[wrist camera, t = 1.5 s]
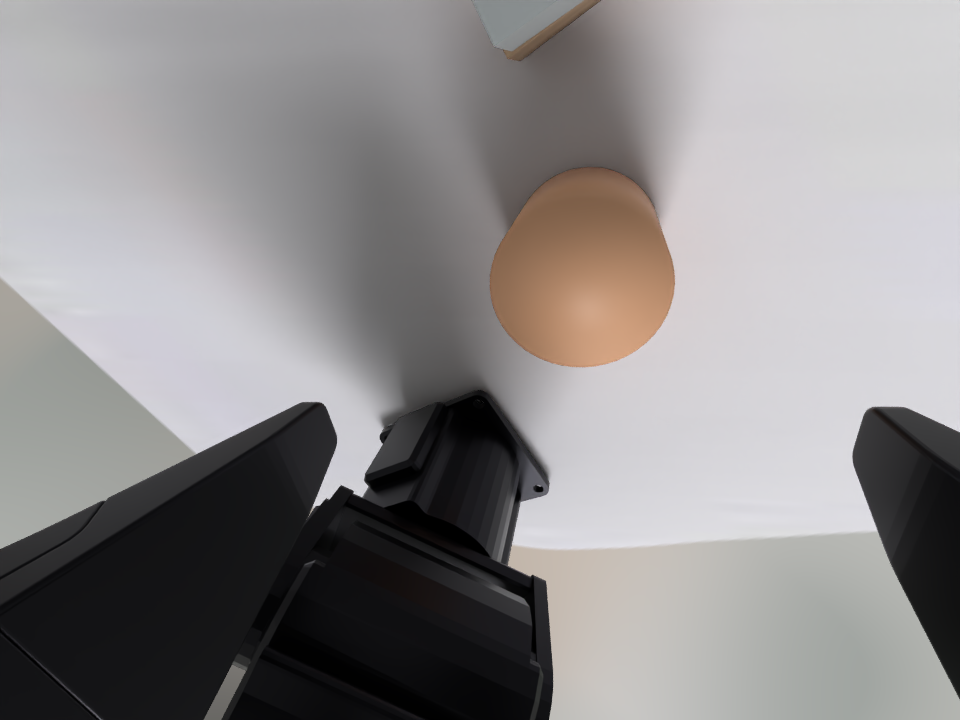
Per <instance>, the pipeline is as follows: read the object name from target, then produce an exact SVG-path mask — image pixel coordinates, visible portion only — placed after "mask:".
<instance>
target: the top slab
mask: <svg viewBox="0 0 960 720" xmlns="http://www.w3.org/2000/svg"><path fill="white" fill-rule="evenodd" d="M582 1H584V0H472V2H473V4H474V6H475V8H476V11H477V13H478V15H479V17H480V19H481V21H482V23H483V25H484V27H485V30H486V32H487V34H488V36H489V38H490V40H491V42H492V44H493V47H496V48H500V49H504V50H508V51H514V50H515V49H516V48H518V47H519V46H521V45H522V44H523V43H525V42H526V41H528V40H529V39H530V38H532V37H533V36H535V35H536V34H538V33H539V32H540V31H542V30H543V29H545V28H546V27H547V26H549V25H550V24H552V23H553V22H554V21H556V20H557V19H559V18H560V17H561V16H563V15H564V14H566V13H567V12H568V11H570V10H571V9H573V8H574V7H575V6H577V5H578V4H580V3H581V2H582Z"/></svg>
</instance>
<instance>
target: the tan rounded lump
mask: <svg viewBox="0 0 960 720" xmlns="http://www.w3.org/2000/svg"><path fill="white" fill-rule="evenodd" d="M674 286H675V275H674V267H673V262H672V258H671V255H670V252H669V249H668V247H667V244H666V241H665V238H664V235H663V232H662V229H661V226H660V223H659V221H658V218H657V215H656V212H655V209H654V207H653V205H652V203H651V201H650V199H649V197H648V196H647V195H646V194H645V192H644V191H643V190H642V189H641V188H640V187H639V186H638V185H637V184H636V183H635V182H633V181H632V180H631V179H629V178H628V177H626V176H624V175H622V174H620V173H618V172H615V171H612V170H609V169H604V168H597V167H584V168H577V169H572V170H568V171H566V172H563V173H560V174H558V175H556V176H554V177H552V178H551V179H549V180H548V181H546V182H545V183H543V184H542V185H541V186H540V187H539V188H538V189H537V190H536V191H535V192H534V193H533V194H532V195H531V197H530V198H529V199H528V201H527V202H526V204H525V205H524V207H523V209H522V210H521V212H520V213H519V215H518V217H517V218H516V220H515V221H514V223H513V224H512V226H511V228H510V229H509V231H508V232H507V234H506V235H505V237H504V239H503V240H502V242H501V243H500V245H499V247H498V249H497V252H496V254H495V256H494V260H493V263H492V267H491V273H490V294H491V300H492V304H493V308H494V310H495V313H496V315H497V318H498V319H499V321H500V323H501V325H502V326H503V328H504V329H505V331H506V332H507V333H508V335H509V336H510V337H511V338H512V339H513V340H514V341H515V342H516V343H517V344H518V345H520V346H521V347H522V348H523V349H525V350H526V351H528V352H529V353H531V354H532V355H534V356H536V357H538V358H540V359H543V360H545V361H548V362H551V363H554V364H558V365H562V366H570V367H592V366H599V365H604V364H608V363H611V362H614V361H617V360H619V359H621V358H624V357H626V356H628V355H629V354H631V353H633V352H634V351H636V350H638V349H639V348H640V347H641V346H643V345H644V344H645V343H646V342H647V341H648V340H649V339H650V338H651V337H652V336H653V335H654V334H655V333H656V332H657V330H658V329H659V328H660V326H661V325H662V323H663V321H664V320H665V318H666V316H667V314H668V311H669V309H670V306H671V303H672V299H673V295H674Z"/></svg>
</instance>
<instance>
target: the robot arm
mask: <svg viewBox="0 0 960 720" xmlns="http://www.w3.org/2000/svg"><path fill="white" fill-rule="evenodd" d="M476 400H481V401H483V402H484V403H482V404H480V403H478V402H477V401H476ZM380 440H381V442H382V443H383V445H382V447H381V449H380V450H379V452H378V454H377V455H376V457H375V458H374V460H373V462H372V463H371V465H370V467H369V468H368V470H367V472H366V473H365V478H364V481H365V483H366V484H367V485H368V486H369V487H368V489H367V490H366V492H365V494H364V496H363V497H360V496H357V495H355V494H353V493H354V491H353V490H350V489H348V488H346V487H344V486H342V485H341V486H340V487H339V488H338V490H337V491H336V492H335V493H334V495H333V496H332V497H331V498H330V500H329V499H327V498H326V499H325V500H324V501H323V503H322V504H321V505H320V506H316V507H315V508H314V510H313V511H312V513H311V514H310V511H311V509H312V507H313V504H314V502H315V499H316V497H317V494H318V492H319V489H320V487H321V484H322V482H323V479H324V477H325V474H326V472H327V469H328V467H329V464H330V462H331V459H332V457H333V454H334V451H335V449H336V445H337V435H336V432H335V429H334V427H333V424H332V422H331V419H330V416H329V414H328V411H327V409H326V407H325V406H324V404H322V403H320V402H302V403H299V404H297V405H295V406H293V407H291V408H289V409H287V410H285V411H283V412H281V413H279V414H277V415H275V416H273V417H271V418H269V419H267V420H265V421H263V422H261V423H259V424H257V425H255V426H253V427H251V428H249V429H247V430H245V431H243V432H241V433H239V434H236V435H234V436H232V437H230V438H228V439H226V440H224V441H222V442H220V443H218V444H216V445H214V446H212V447H210V448H208V449H206V450H204V451H202V452H200V453H198V454H196V455H194V456H192V457H190V458H188V459H186V460H184V461H182V462H180V463H178V464H176V465H174V466H172V467H170V468H168V469H166V470H164V471H162V472H160V473H158V474H155V475H154V476H151V477H149V478H147V479H145V480H143V481H141V482H139V483H137V484H135V485H133V486H131V487H129V488H127V489H125V490H123V491H121V492H119V493H117V494H115V495H113V496H111V497H109V498H108V499H107V500H106V501H101V502H99V503H97V504H95V505H93V506H91V507H88V508H86V509H84V510H82V511H81V512H78V513H76V514H74V515H72V516H70V517H68V518H66V519H64V520H62V521H60V522H58V523H55V524H54V525H51V526H50V527H47V528H45V529H43V530H41V531H39V532H37V533H34V534H32V535H30V536H28V537H26V538H24V539H21V540H20V541H17V542H15V543H13V544H11V545H8V546H6V547H4V548H2V549H0V720H203V719H204V718H205V716H206V714H207V712H208V710H209V708H210V706H211V704H212V702H213V700H214V698H215V696H216V694H217V693H218V691H219V689H220V687H221V685H222V683H223V681H224V679H225V677H226V675H227V673H228V671H229V669H230V667H231V665H234V666H236V667H239V668H241V669H243V670H245V671H246V673H245V674H244V676H243V679H242V681H241V683H240V684H239V687H238V688H237V690H236V692H235V694H234V696H233V698H232V700H231V702H230V704H229V706H228V708H227V710H226V712H225V714H224V716H223V718H222V720H549V716H550V710H551V704H552V694H553V666H552V653H551V642H550V641H551V640H550V626H549V613H548V601H547V587H546V581H545V580H542V579H540V578H538V577H536V576H534V575H532V576H531V577H530V576H528V575H526V574H524V573H522V572H520V571H517V570H515V569H513V568H511V567H509V566H508V561H509V556H510V551H511V546H512V541H513V536H514V531H515V527H516V522H517V517H518V512H519V507H520V502H522V501H526V500H529V499H533V498H537V497H541V496H544V495H546V494H547V493H548V491H549V481H548V479H547V478H546V476H545V475H544V473H543V472H542V470H541V469H540V467H539V466H538V465H537V463H536V462H535V460H534V459H533V457H532V456H531V454H530V453H529V452H528V450H527V449H526V447H525V446H524V444H523V443H522V441H521V440H520V439H519V437H518V436H517V434H516V433H515V431H514V430H513V428H512V427H511V425H510V424H509V423H508V421H507V420H506V418H505V417H504V415H503V414H502V412H501V411H500V410H499V408H498V407H497V405H496V404H495V402H494V401H493V399H492V398H491V396H490V395H489V394H488V393H487V392H485V391H483V390H476V391H473V392H471V393H468V394H466V395H463V396H461V397H458V398H456V399H453V400H451V401H449V402H446V403H441V402H436V403H434V404H432V405H429V406H427V407H424V408H422V409H420V410H417V411H415V412H412V413H410V414H408V415H405V416H403V417H400V418H399V419H398V421H397V422H396V423H395V424H393V425H390V426H388V427H386V428H384V429H383V431H382V433H381V434H380ZM853 465H854V468H855V471H856V474H857V476H858V479H859V482H860V484H861V487H862V490H863V492H864V495H865V498H866V500H867V503H868V506H869V509H870V511H871V514H872V517H873V519H874V522H875V525H876V527H877V530H878V533H879V536H880V538H881V541H882V544H883V546H884V549H885V551H886V554H887V556H888V558H889V561H890V563H891V565H892V567H893V570H894V572H895V574H896V576H897V578H898V580H899V582H900V584H901V586H902V588H903V590H904V592H905V593H906V596H907V597H908V600H909V601H910V603H911V605H912V607H913V609H914V611H915V613H916V615H917V617H918V619H919V621H920V623H921V625H922V627H923V629H924V631H925V632H926V634H927V636H928V638H929V640H930V642H931V644H932V646H933V648H934V650H935V652H936V654H937V656H938V658H939V660H940V662H941V664H942V666H943V668H944V670H945V672H946V674H947V675H948V677H949V679H950V681H951V683H952V685H953V687H954V689H955V691H956V693H957V695H958V697H959V699H960V432H958V431H956V430H953V429H951V428H949V427H947V426H945V425H943V424H940V423H938V422H936V421H934V420H932V419H930V418H928V417H925V416H923V415H921V414H919V413H917V412H915V411H912V410H910V409H908V408H905V407H872V408H870V409H868V410H867V411H866V412H865V414H864V416H863V419H862V422H861V426H860V429H859V432H858V435H857V439H856V442H855V445H854V449H853ZM536 485H540V486H541V487H539V486H536ZM309 514H310V516H309ZM308 516H309V517H308Z"/></svg>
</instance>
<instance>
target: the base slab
mask: <svg viewBox="0 0 960 720" xmlns="http://www.w3.org/2000/svg"><path fill="white" fill-rule="evenodd" d="M600 1H601V0H584V1H582V2H581V3H580V4H578V5H577V6H575V7H574V8H573V9H571V10H570V11H568V12H567V13H566V14H564V15H563V16H561V17H560V18H559V19H557V20H556V21H554V22H553V23H552V24H550V25H549V26H547V27H546V28H545V29H543V30H542V31H540V32H539V33H538V34H536V35H535V36H533V37H532V38H530V39H529V40H528V41H526V42H525V43H523V44H522V45H521V46H519V47H518V48H516V49H515V50H514V51H508V50H504V49H503V51H504V53H505V55H506V57H507V59H511V60H516V61H521V60H523V59H524V58H525V57H527V56H528V55H529V54H531V53H532V52H533V51H535V50H536V49H537V48H539V47H540V46H541V45H543V44H544V43H545V42H547V41H548V40H549V39H551V38H552V37H553V36H554V35H556V34H557V33H558V32H560V31H561V30H562V29H564V28H565V27H566V26H568V25H569V24H570V23H572V22H573V21H574V20H576V19H577V18H578V17H580V16H581V15H582V14H584V13H585V12H586V11H588V10H589V9H590V8H592V7H593V6H594V5H596V4H597V3H598V2H600Z"/></svg>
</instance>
